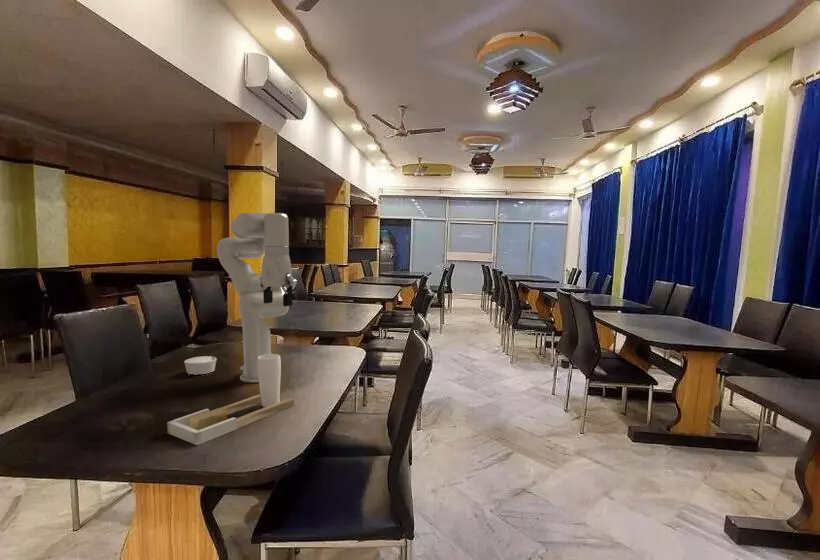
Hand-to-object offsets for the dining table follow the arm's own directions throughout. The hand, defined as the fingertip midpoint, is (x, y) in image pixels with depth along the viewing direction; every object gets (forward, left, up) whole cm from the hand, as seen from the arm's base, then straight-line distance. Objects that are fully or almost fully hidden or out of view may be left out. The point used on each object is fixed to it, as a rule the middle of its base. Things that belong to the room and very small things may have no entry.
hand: (277, 304), depth 141 cm
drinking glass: (+7, -10, -30) cm, 32 cm away
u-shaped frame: (+7, -32, -29) cm, 44 cm away
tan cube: (+7, -32, -30) cm, 44 cm away
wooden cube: (+7, -28, -30) cm, 41 cm away
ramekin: (-45, 0, -30) cm, 54 cm away
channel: (+7, -16, -29) cm, 34 cm away
